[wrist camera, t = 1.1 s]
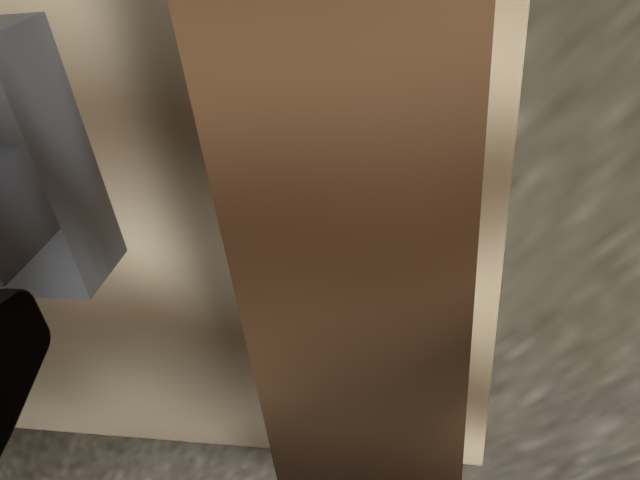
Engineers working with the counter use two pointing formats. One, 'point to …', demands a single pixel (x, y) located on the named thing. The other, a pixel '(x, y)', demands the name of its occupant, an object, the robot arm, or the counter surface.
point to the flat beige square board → (163, 226)
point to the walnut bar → (348, 217)
